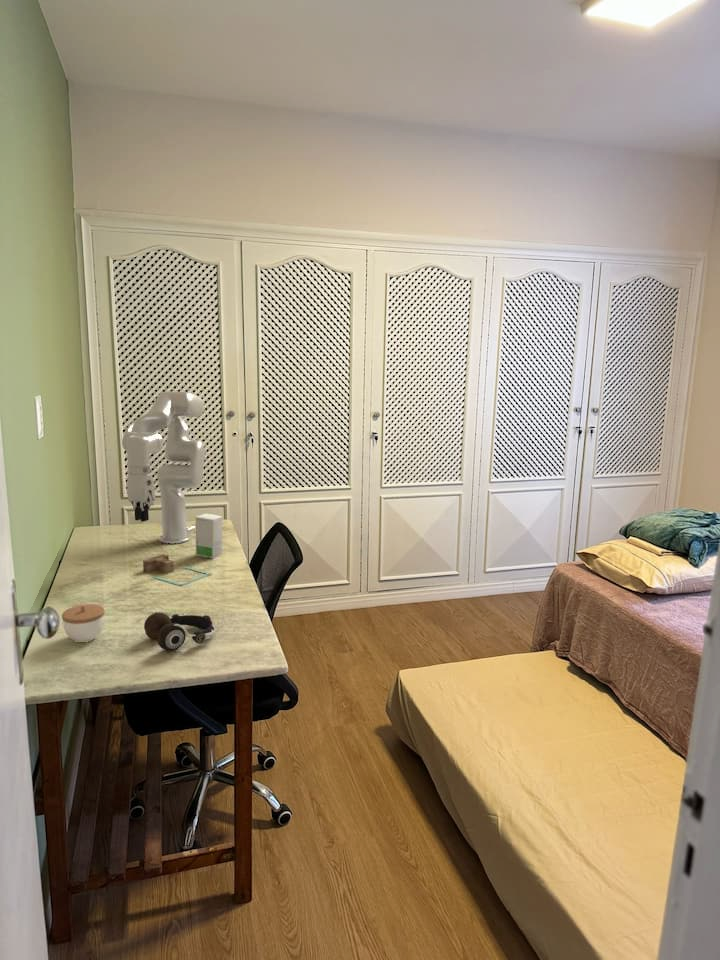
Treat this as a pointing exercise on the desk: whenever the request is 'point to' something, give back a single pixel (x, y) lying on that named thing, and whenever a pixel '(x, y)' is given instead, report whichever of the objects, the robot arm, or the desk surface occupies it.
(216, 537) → the skincare box
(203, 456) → the robot arm
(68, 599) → the desk surface
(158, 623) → the headset
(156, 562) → the tee block
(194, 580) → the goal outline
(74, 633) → the lidded jar
